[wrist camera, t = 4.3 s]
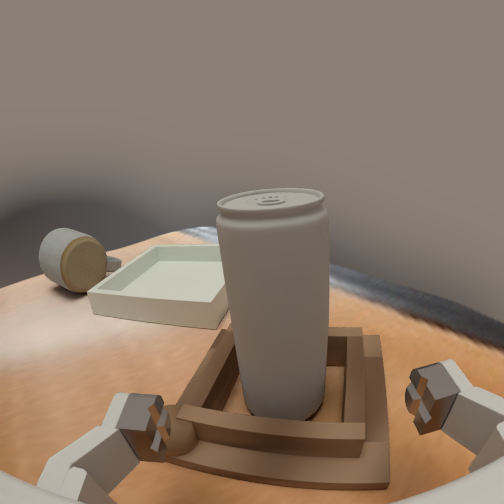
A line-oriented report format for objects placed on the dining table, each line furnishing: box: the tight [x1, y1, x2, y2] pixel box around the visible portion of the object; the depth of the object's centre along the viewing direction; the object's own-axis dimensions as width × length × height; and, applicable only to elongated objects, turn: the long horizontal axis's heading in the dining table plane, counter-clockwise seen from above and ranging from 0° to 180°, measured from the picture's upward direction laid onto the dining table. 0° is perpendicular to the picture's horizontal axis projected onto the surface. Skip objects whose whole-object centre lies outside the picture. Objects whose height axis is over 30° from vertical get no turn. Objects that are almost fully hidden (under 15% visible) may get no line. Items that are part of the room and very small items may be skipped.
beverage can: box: [216, 188, 329, 421], centre depth 15 cm, size 5×5×12 cm
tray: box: [87, 244, 229, 329], centre depth 33 cm, size 14×14×3 cm
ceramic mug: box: [39, 228, 121, 293], centre depth 37 cm, size 11×8×8 cm
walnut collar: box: [163, 323, 390, 490], centre depth 17 cm, size 12×12×2 cm
